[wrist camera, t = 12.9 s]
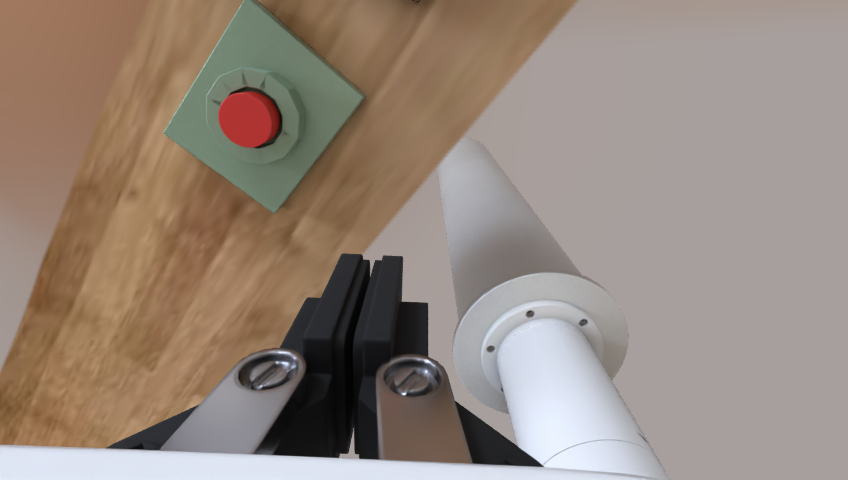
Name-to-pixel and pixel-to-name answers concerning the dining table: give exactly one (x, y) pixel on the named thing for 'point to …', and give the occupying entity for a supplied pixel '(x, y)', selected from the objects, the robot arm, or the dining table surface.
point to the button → (248, 119)
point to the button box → (288, 90)
